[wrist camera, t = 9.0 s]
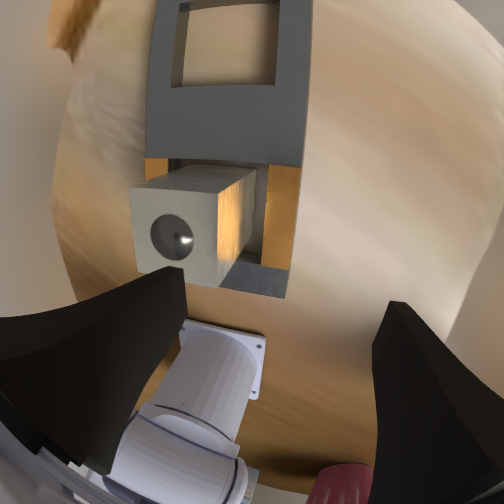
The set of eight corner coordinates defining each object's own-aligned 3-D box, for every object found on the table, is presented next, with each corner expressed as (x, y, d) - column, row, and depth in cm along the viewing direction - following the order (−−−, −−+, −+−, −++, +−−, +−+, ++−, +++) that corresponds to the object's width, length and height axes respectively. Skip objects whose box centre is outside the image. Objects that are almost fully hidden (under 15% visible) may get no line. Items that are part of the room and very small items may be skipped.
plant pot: (381, 450, 28) (378, 525, 17) (389, 473, 32) (386, 529, 21) (293, 462, 33) (277, 528, 22) (318, 483, 37) (308, 535, 26)
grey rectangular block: (252, 233, 19) (216, 289, 12) (193, 225, 19) (137, 272, 13) (256, 169, 17) (217, 194, 10) (192, 164, 17) (127, 187, 11)
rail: (287, 287, 20) (284, 299, 18) (163, 264, 21) (153, 273, 20) (313, -20, 10) (311, -32, 9) (170, -8, 12) (159, -16, 10)
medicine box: (243, 475, 41) (232, 509, 34) (224, 468, 41) (211, 502, 34) (260, 469, 38) (249, 507, 30) (238, 462, 38) (225, 501, 30)
